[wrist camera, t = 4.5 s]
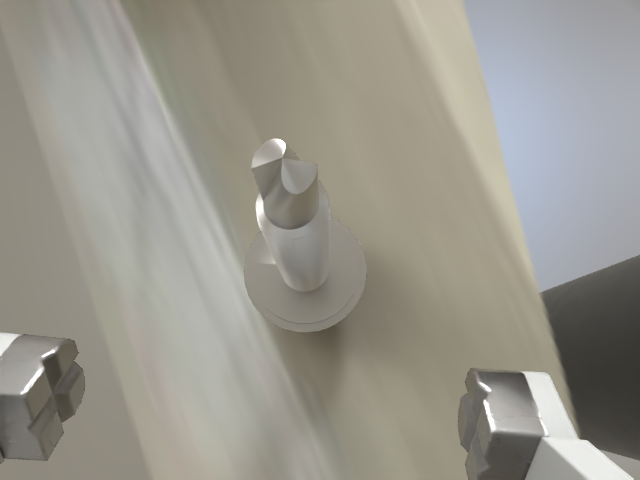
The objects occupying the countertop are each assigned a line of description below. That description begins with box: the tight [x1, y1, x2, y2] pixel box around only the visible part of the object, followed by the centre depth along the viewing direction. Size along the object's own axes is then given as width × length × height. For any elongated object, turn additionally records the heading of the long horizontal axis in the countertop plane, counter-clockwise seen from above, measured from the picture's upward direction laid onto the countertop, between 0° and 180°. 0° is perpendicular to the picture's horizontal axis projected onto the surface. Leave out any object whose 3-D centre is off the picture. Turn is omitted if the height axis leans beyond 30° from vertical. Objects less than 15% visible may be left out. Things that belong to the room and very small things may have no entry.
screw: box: [244, 139, 367, 333], centre depth 16 cm, size 13×5×5 cm
